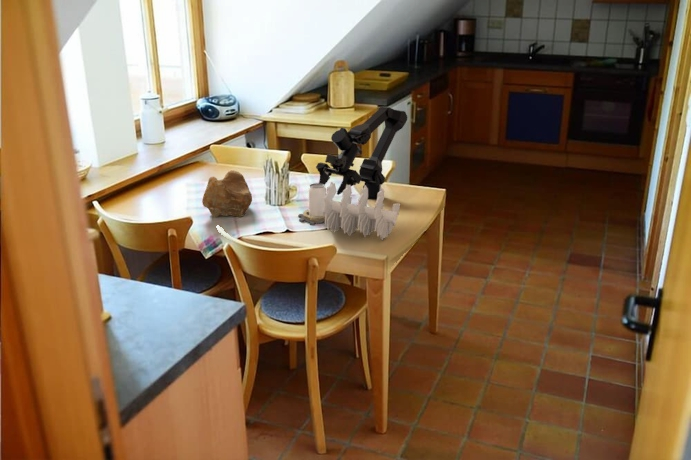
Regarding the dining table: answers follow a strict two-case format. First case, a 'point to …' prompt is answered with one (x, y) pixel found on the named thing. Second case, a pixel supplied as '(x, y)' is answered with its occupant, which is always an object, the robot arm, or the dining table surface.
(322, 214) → the can
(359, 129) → the robot arm
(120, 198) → the dining table surface
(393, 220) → the white pleated crown
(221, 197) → the rough brown rock
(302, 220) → the gear plate
